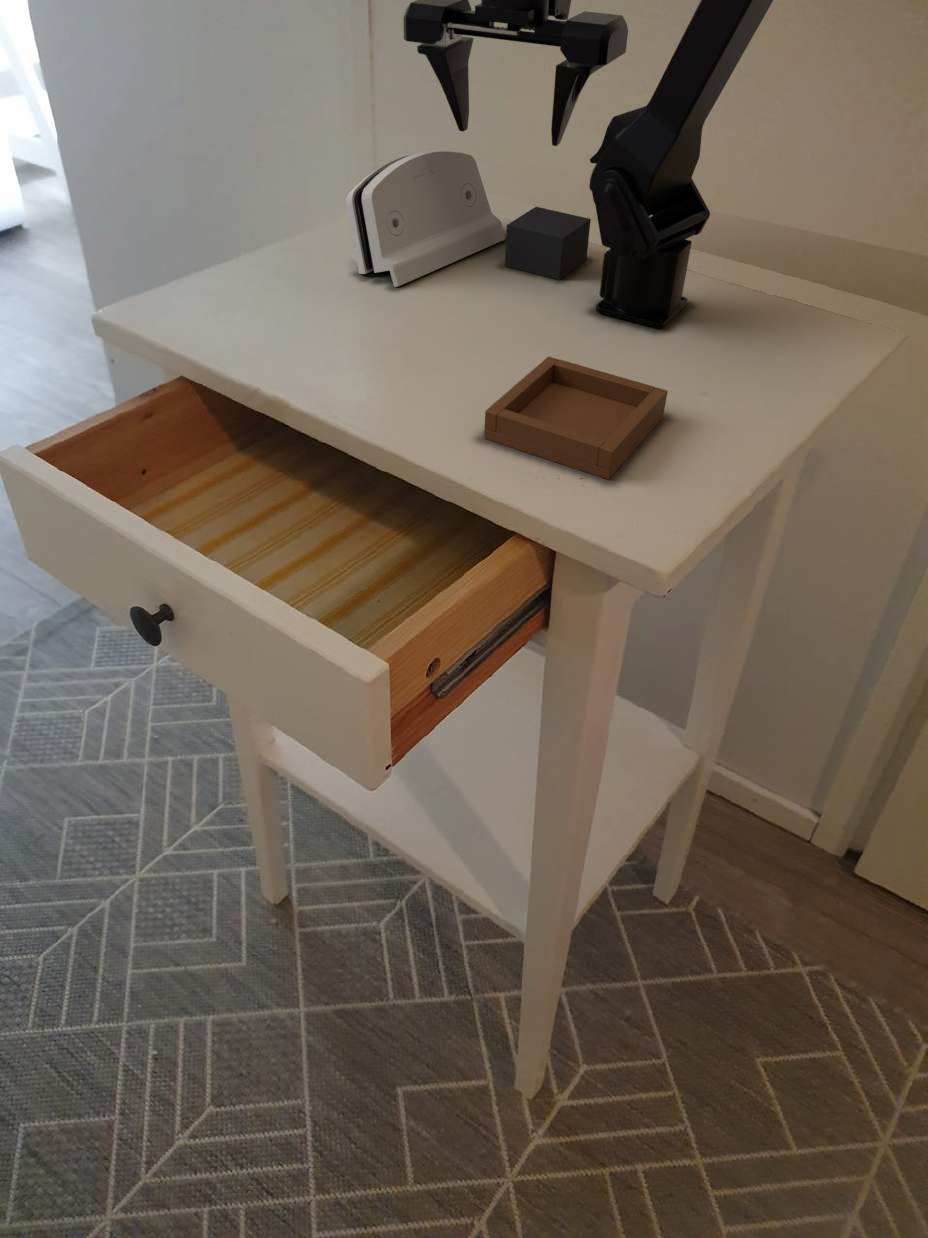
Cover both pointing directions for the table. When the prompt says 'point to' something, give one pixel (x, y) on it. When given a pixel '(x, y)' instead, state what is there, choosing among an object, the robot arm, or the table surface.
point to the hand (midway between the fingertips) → (509, 137)
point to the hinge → (420, 215)
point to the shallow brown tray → (575, 416)
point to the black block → (547, 242)
